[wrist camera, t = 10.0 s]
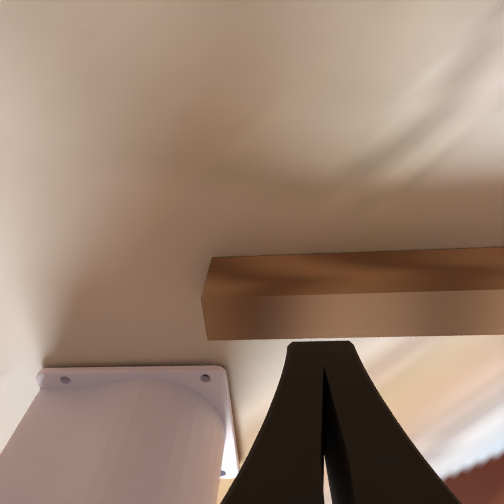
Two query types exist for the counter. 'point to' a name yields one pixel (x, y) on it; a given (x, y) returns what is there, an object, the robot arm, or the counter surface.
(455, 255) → the chute
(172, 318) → the counter surface
